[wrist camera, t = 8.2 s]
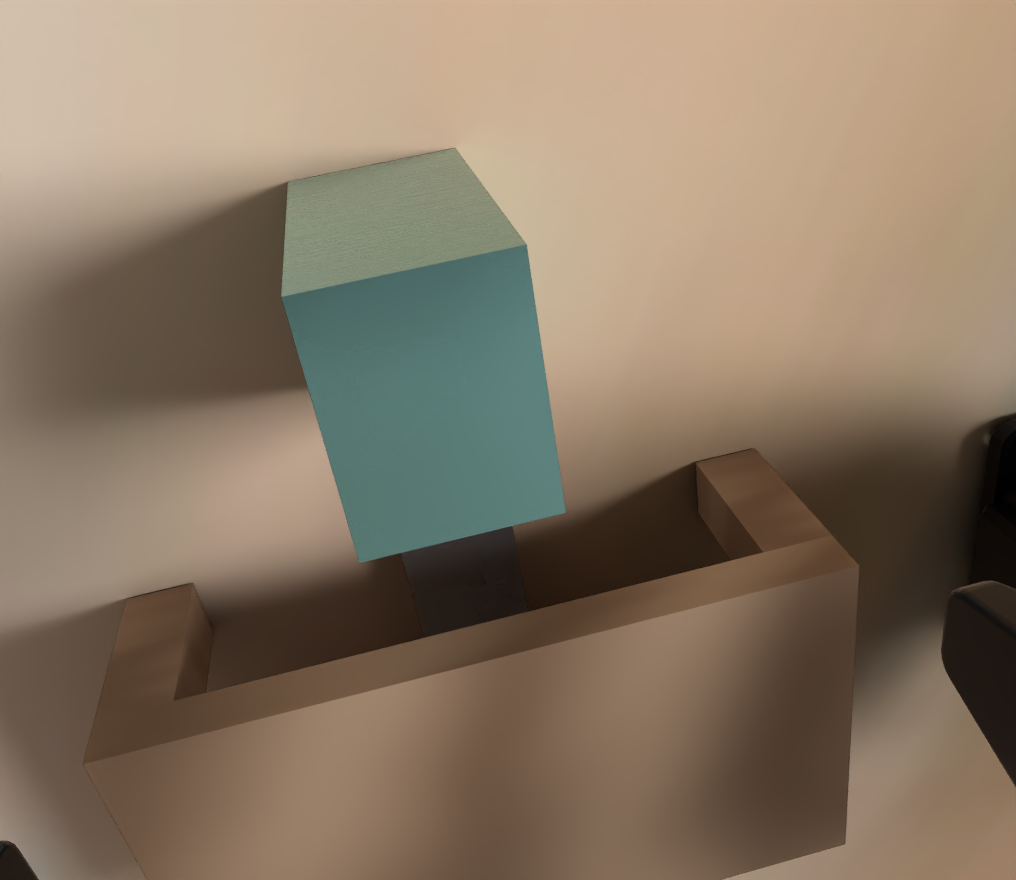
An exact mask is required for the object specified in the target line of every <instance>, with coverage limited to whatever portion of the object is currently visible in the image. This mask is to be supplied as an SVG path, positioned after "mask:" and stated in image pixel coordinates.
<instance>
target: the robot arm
mask: <svg viewBox="0 0 1016 880" xmlns="http://www.w3.org/2000/svg"><path fill="white" fill-rule="evenodd" d="M1015 440H1016V418H1014V419H1011V420H1008V421H1006V422H1004V423H1003V424H1001V425H1000V426H999V427H998V428H997V429H996V430H995V432H994V433H993V434H992V437H991V440H990V444H989V452H988V460H987V467H986V475H985V483H984V491H983V498H982V506H981V514H980V522H979V529H978V537H977V545H976V553H975V560H974V568H973V576H972V583H971V585H968V586H964V587H960V588H957V589H955V590H953V591H952V592H951V593H950V595H949V596H948V599H947V604H946V612H945V621H944V630H943V638H942V647H941V654H942V661H943V664H944V667H945V670H946V672H947V674H948V676H949V678H950V680H951V681H952V683H953V685H954V686H955V688H956V690H957V691H958V693H959V694H960V696H961V698H962V699H963V701H964V703H965V704H966V706H967V708H968V709H969V711H970V713H971V714H972V716H973V718H974V719H975V721H976V723H977V724H978V726H979V728H980V729H981V731H982V733H983V734H984V736H985V738H986V739H987V741H988V742H989V744H990V746H991V747H992V749H993V751H994V752H995V754H996V756H997V757H998V759H999V761H1000V762H1001V764H1002V766H1003V767H1004V769H1005V771H1006V772H1007V774H1008V776H1009V777H1010V779H1011V781H1012V782H1013V784H1014V786H1015V787H1016V442H1015V443H1014V444H1013V445H1012V443H1013V442H1014V441H1015ZM0 880H39V879H38V878H37V876H36V875H35V873H34V872H33V870H32V869H31V867H30V866H29V864H28V863H27V861H26V860H25V858H24V857H23V855H22V854H21V852H20V851H19V849H18V848H17V847H16V846H15V844H13V843H11V842H9V841H0Z"/></svg>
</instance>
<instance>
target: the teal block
mask: <svg viewBox="0 0 1016 880" xmlns="http://www.w3.org/2000/svg"><path fill="white" fill-rule="evenodd" d="M281 298H282V301H283V304H284V308H285V311H286V315H287V318H288V321H289V325H290V328H291V332H292V335H293V338H294V342H295V345H296V349H297V352H298V355H299V359H300V362H301V366H302V369H303V373H304V376H305V379H306V383H307V386H308V390H309V393H310V396H311V400H312V403H313V407H314V410H315V413H316V417H317V420H318V424H319V427H320V430H321V434H322V437H323V441H324V444H325V447H326V451H327V454H328V458H329V461H330V464H331V468H332V471H333V475H334V478H335V481H336V485H337V488H338V492H339V495H340V498H341V502H342V505H343V509H344V512H345V515H346V519H347V522H348V526H349V529H350V533H351V536H352V539H353V543H354V546H355V550H356V553H357V556H358V560H359V563H361V562H365V561H369V560H374V559H378V558H382V557H386V556H390V555H394V554H398V553H401V555H402V559H403V563H404V566H405V570H406V574H407V578H408V582H409V585H410V589H411V593H412V597H413V601H414V604H415V608H416V612H417V616H418V620H419V623H420V627H421V631H422V635H423V638H426V637H430V636H434V635H438V634H441V633H445V632H449V631H453V630H457V629H461V628H465V627H469V626H473V625H477V624H481V623H485V622H489V621H493V620H497V619H501V618H505V617H509V616H513V615H517V614H521V613H525V612H528V609H527V603H526V598H525V592H524V587H523V581H522V576H521V571H520V565H519V560H518V554H517V549H516V543H515V538H514V533H513V527H512V526H514V525H518V524H522V523H526V522H530V521H534V520H539V519H543V518H547V517H551V516H555V515H559V514H563V513H566V510H565V503H564V496H563V490H562V483H561V476H560V469H559V462H558V456H557V449H556V442H555V435H554V428H553V421H552V415H551V408H550V401H549V394H548V387H547V381H546V374H545V367H544V360H543V353H542V347H541V340H540V333H539V326H538V319H537V313H536V306H535V299H534V292H533V285H532V278H531V272H530V265H529V258H528V251H527V245H526V243H525V242H524V240H523V239H522V238H521V236H520V235H519V234H518V232H517V231H516V230H515V228H514V227H513V226H512V224H511V223H510V221H509V220H508V219H507V217H506V216H505V215H504V213H503V212H502V211H501V209H500V208H499V206H498V205H497V204H496V202H495V201H494V200H493V198H492V197H491V196H490V194H489V193H488V192H487V190H486V189H485V187H484V186H483V185H482V183H481V182H480V181H479V179H478V178H477V177H476V175H475V174H474V173H473V171H472V170H471V168H470V167H469V166H468V164H467V163H466V162H465V160H464V159H463V158H462V156H461V155H460V153H459V152H458V151H457V149H456V148H453V149H448V150H443V151H438V152H433V153H429V154H424V155H419V156H414V157H409V158H404V159H399V160H394V161H389V162H384V163H379V164H374V165H369V166H364V167H359V168H354V169H349V170H344V171H339V172H334V173H329V174H324V175H319V176H314V177H309V178H304V179H299V180H294V181H290V182H288V190H287V207H286V224H285V241H284V258H283V276H282V293H281Z"/></svg>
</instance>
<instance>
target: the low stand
mask: <svg viewBox="0 0 1016 880" xmlns="http://www.w3.org/2000/svg"><path fill="white" fill-rule="evenodd" d="M696 478H697V495H698V512H699V515H700V516H701V518H702V519H703V521H704V522H705V524H706V525H707V526H708V528H709V529H710V531H711V532H712V534H713V535H714V537H715V538H716V540H717V541H718V542H719V544H720V545H721V547H722V548H723V550H724V551H725V553H726V554H727V555H728V557H729V558H730V560H731V561H728V562H724V563H720V564H716V565H712V566H708V567H704V568H700V569H696V570H692V571H688V572H684V573H680V574H676V575H672V576H668V577H664V578H660V579H656V580H652V581H648V582H644V583H640V584H636V585H632V586H628V587H624V588H620V589H616V590H612V591H608V592H604V593H600V594H596V595H593V596H589V597H585V598H581V599H577V600H573V601H569V602H565V603H561V604H557V605H553V606H549V607H545V608H541V609H537V610H533V611H529V612H525V613H521V614H517V615H513V616H509V617H505V618H501V619H497V620H493V621H489V622H485V623H481V624H477V625H473V626H469V627H465V628H461V629H457V630H453V631H449V632H445V633H441V634H438V635H434V636H430V637H426V638H422V639H418V640H414V641H410V642H406V643H402V644H398V645H394V646H390V647H386V648H382V649H378V650H374V651H370V652H366V653H362V654H358V655H354V656H350V657H346V658H342V659H338V660H334V661H330V662H326V663H322V664H318V665H314V666H310V667H306V668H302V669H298V670H294V671H290V672H287V673H283V674H279V675H275V676H271V677H267V678H263V679H259V680H255V681H251V682H247V683H243V684H239V685H235V686H231V687H227V688H223V689H219V690H215V691H211V692H207V693H206V688H207V680H208V673H209V665H210V657H211V649H212V641H213V630H212V628H211V625H210V623H209V621H208V618H207V616H206V613H205V611H204V608H203V606H202V604H201V601H200V599H199V596H198V594H197V591H196V589H195V587H194V584H193V583H192V584H188V585H183V586H179V587H175V588H171V589H167V590H163V591H158V592H154V593H150V594H146V595H142V596H138V597H133V598H129V599H126V603H125V606H124V610H123V614H122V618H121V621H120V625H119V629H118V633H117V636H116V640H115V644H114V648H113V652H112V655H111V659H110V663H109V667H108V670H107V674H106V678H105V682H104V685H103V689H102V693H101V697H100V701H99V704H98V708H97V712H96V716H95V719H94V723H93V727H92V731H91V734H90V738H89V742H88V746H87V749H86V753H85V757H84V761H83V766H84V768H85V770H86V771H87V773H88V775H89V777H90V779H91V780H92V782H93V784H94V786H95V788H96V789H97V791H98V793H99V795H100V796H101V798H102V800H103V802H104V804H105V805H106V807H107V809H108V811H109V813H110V814H111V816H112V818H113V820H114V821H115V823H116V825H117V827H118V829H119V830H120V832H121V834H122V836H123V838H124V839H125V841H126V843H127V845H128V846H129V848H130V850H131V852H132V854H133V855H134V857H135V859H136V861H137V862H138V864H139V866H140V868H141V870H142V871H143V873H144V875H145V877H146V879H147V880H722V879H725V878H729V877H732V876H736V875H739V874H743V873H746V872H750V871H753V870H757V869H760V868H764V867H767V866H771V865H774V864H778V863H781V862H785V861H788V860H792V859H795V858H799V857H802V856H806V855H809V854H813V853H816V852H820V851H823V850H827V849H830V848H834V847H837V846H841V845H844V844H845V840H846V821H847V801H848V781H849V762H850V742H851V722H852V702H853V683H854V663H855V643H856V623H857V604H858V584H859V565H858V564H857V562H856V561H855V560H854V559H853V558H852V557H851V556H850V555H849V553H848V552H847V551H846V550H845V549H844V548H843V547H842V546H841V544H840V543H839V542H838V541H837V540H836V539H835V538H834V537H833V536H832V534H831V533H830V532H829V531H828V530H827V529H826V528H825V527H824V525H823V524H822V523H821V522H820V521H819V520H818V519H817V518H816V516H815V515H814V514H813V513H812V512H811V511H810V510H809V509H808V507H807V506H806V505H805V504H804V503H803V502H802V501H801V500H800V498H799V497H798V496H797V495H796V494H795V493H794V492H793V491H792V490H791V488H790V487H789V486H788V485H787V484H786V483H785V482H784V481H783V479H782V478H781V477H780V476H779V475H778V474H777V473H776V472H775V470H774V469H773V468H772V467H771V466H770V465H769V464H768V463H767V461H766V460H765V459H764V458H763V457H762V456H761V455H760V454H759V452H758V451H757V450H756V449H755V448H754V449H750V450H746V451H742V452H738V453H733V454H729V455H725V456H721V457H717V458H713V459H708V460H704V461H700V462H696Z"/></svg>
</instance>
